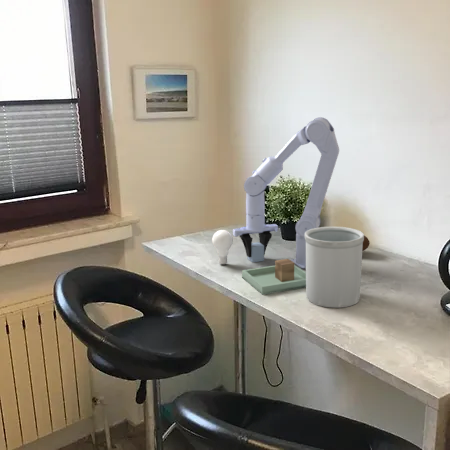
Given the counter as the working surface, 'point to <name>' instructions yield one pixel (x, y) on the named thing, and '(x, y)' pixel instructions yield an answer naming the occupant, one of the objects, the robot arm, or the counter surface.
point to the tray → (273, 280)
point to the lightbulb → (222, 244)
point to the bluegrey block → (256, 252)
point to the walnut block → (284, 270)
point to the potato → (365, 243)
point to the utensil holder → (333, 266)
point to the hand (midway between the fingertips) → (255, 255)
